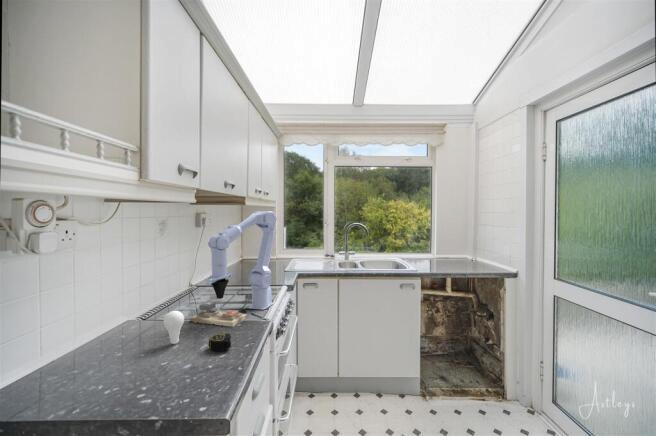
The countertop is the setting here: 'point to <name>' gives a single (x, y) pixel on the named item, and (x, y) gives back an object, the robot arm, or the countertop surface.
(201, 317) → the button mount
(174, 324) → the lightbulb
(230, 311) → the button terracotta
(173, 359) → the countertop surface
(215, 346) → the tape measure
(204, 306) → the button charcoal
